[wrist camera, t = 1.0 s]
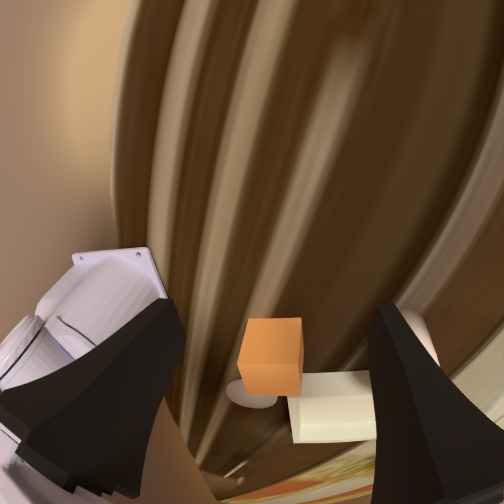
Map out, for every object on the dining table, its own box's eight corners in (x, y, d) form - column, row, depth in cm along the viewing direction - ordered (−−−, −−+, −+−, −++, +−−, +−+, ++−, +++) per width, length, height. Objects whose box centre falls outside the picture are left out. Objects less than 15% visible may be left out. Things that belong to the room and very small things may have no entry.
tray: (295, 424, 34) (293, 442, 31) (289, 373, 28) (287, 397, 25) (386, 418, 31) (388, 437, 28) (408, 365, 25) (413, 388, 22)
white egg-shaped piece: (369, 350, 24) (375, 403, 19) (375, 311, 22) (387, 368, 17) (417, 344, 23) (430, 395, 18) (428, 305, 21) (449, 359, 16)
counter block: (256, 351, 27) (247, 394, 22) (248, 318, 24) (236, 363, 20) (303, 351, 26) (300, 395, 21) (301, 317, 23) (298, 364, 19)
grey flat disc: (233, 401, 33) (231, 406, 32) (221, 375, 30) (220, 380, 30) (280, 403, 32) (279, 409, 31) (275, 377, 29) (274, 383, 28)
